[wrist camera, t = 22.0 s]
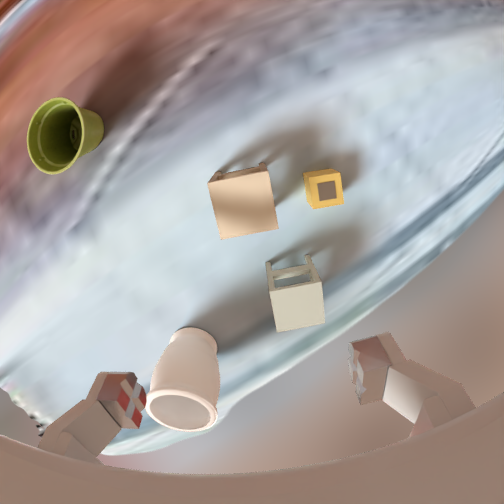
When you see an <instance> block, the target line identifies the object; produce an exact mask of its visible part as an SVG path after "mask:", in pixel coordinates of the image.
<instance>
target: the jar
mask: <svg viewBox="0 0 504 504" xmlns="http://www.w3.org/2000/svg"><path fill="white" fill-rule="evenodd" d="M216 353H217V344H216V341H215V340H214V338H213V337H212V336H211V335H210V334H209V333H207V332H206V331H204V330H201V329H198V328H191V327H190V328H183V329H180V330H178V331H176V332H175V333H174V334H173V335H172V337H171V339H170V344H169V345H168V346H167V347H166V349H165V350H164V352H163V354H162V356H161V357H160V359H159V360H158V362H157V364H156V366H155V369H154V371H153V375H152V379H151V385H150V392H149V393H148V394H147V395H146V398H147V402H146V406H145V410H146V411H147V413H148V414H149V416H150V417H151V418H153V419H154V420H155V421H156V422H158V423H160V424H161V425H163V426H166V427H168V428H171V429H174V430H179V431H186V432H195V431H201V430H205V429H207V428H209V427H211V426H212V425H213V424H214V423H215V422H216V420H217V408H216V404H217V400H218V396H219V391H220V374H219V365H218V359H217V356H216Z"/></svg>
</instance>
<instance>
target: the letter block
mask: <svg viewBox="0 0 504 504" xmlns="http://www.w3.org/2000/svg"><path fill="white" fill-rule="evenodd" d="M303 177H304V184H305V190H306V196H307V202H308V203H309V204H310V206H311V207H312V208H313V209H317V208H323V207H329V206H335V205H340V204H344V200H343V191H342V183H341V175H340V172H338V171H336V170H334V169H332V168H330V169H324V170H317V171H311V172H305V173H303Z"/></svg>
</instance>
